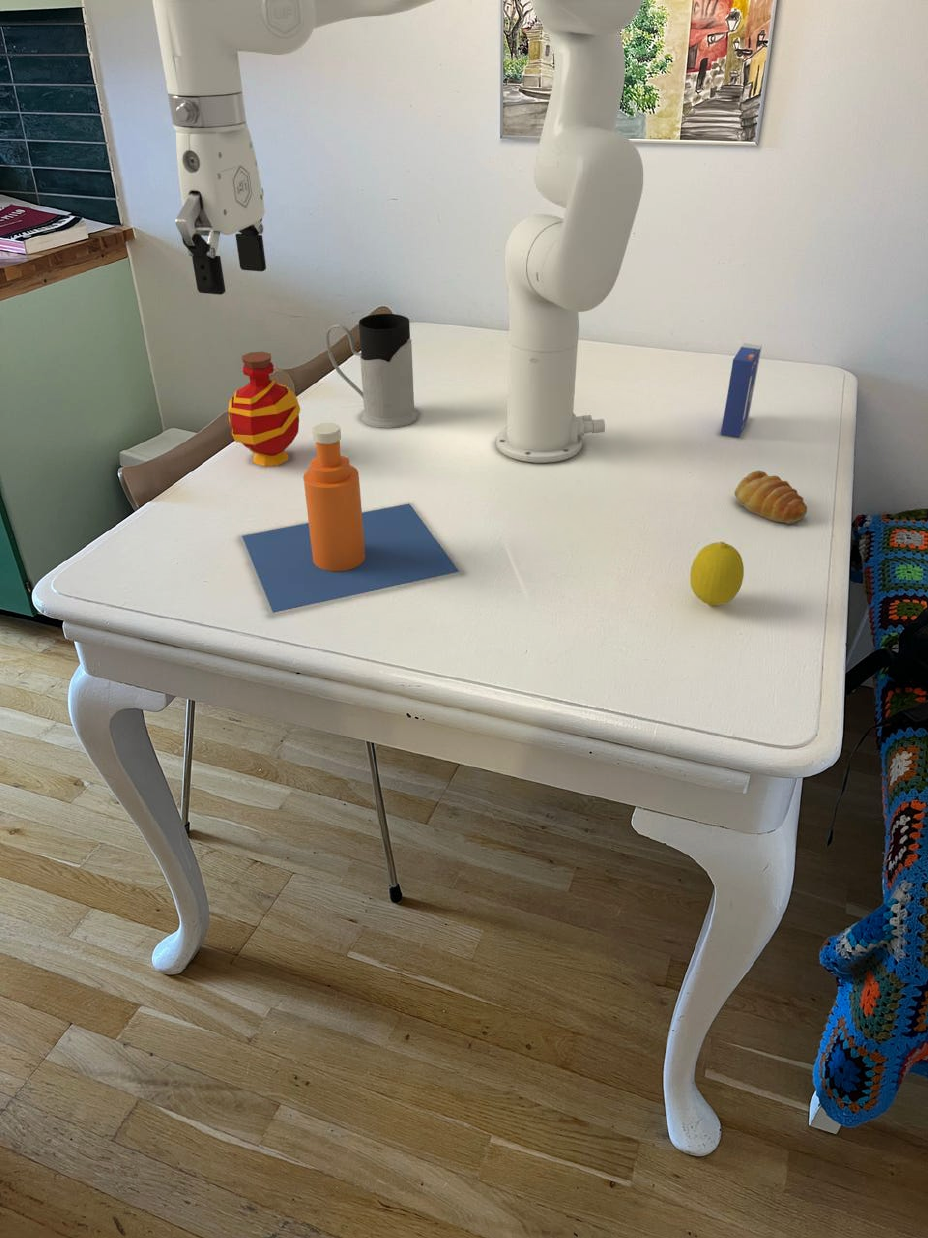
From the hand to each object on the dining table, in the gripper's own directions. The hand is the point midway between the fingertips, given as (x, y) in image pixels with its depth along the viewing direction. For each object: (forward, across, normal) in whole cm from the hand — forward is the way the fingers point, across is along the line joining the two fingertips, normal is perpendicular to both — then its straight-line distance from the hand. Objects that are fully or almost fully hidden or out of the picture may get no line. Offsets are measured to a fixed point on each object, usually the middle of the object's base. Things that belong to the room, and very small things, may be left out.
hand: (233, 280), depth 106 cm
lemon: (+29, -8, -59) cm, 66 cm away
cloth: (+28, -10, -16) cm, 34 cm away
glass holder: (+29, +31, -3) cm, 42 cm away
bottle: (+28, -11, -15) cm, 34 cm away
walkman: (+29, +42, -58) cm, 77 cm away
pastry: (+29, +17, -64) cm, 72 cm away
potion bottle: (+29, +12, +5) cm, 32 cm away
